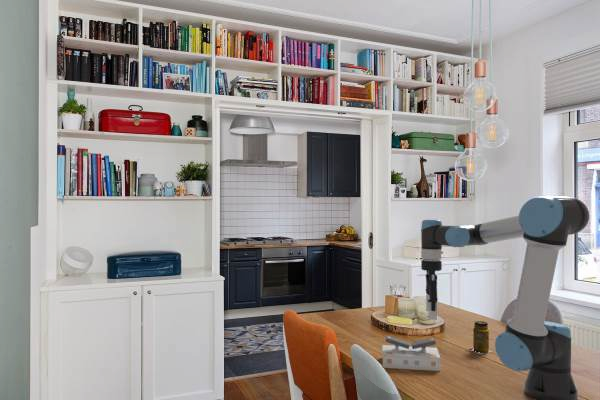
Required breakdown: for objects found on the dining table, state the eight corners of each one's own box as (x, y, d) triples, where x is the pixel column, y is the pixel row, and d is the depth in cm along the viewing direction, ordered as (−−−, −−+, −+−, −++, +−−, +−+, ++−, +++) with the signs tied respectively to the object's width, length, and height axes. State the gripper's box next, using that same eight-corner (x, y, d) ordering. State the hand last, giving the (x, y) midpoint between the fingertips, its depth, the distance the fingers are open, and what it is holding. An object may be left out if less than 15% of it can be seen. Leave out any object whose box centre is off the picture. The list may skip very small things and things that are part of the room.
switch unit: (440, 371, 175) (440, 352, 175) (382, 367, 178) (382, 349, 178) (436, 360, 187) (436, 342, 187) (382, 357, 190) (382, 340, 190)
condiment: (493, 351, 199) (493, 322, 199) (480, 355, 194) (480, 325, 194) (478, 347, 205) (478, 319, 205) (465, 350, 200) (465, 322, 200)
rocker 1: (408, 349, 181) (409, 345, 181) (385, 341, 182) (386, 337, 182) (408, 345, 185) (409, 341, 185) (385, 338, 186) (386, 334, 186)
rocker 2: (436, 344, 179) (435, 340, 179) (412, 349, 180) (411, 345, 180) (434, 341, 183) (433, 337, 183) (411, 345, 185) (410, 341, 185)
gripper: (445, 264, 169) (445, 323, 169) (438, 256, 194) (438, 308, 194) (423, 263, 171) (423, 322, 171) (419, 256, 195) (419, 307, 195)
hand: (431, 315), depth 182 cm, fingers open, 13 cm apart
